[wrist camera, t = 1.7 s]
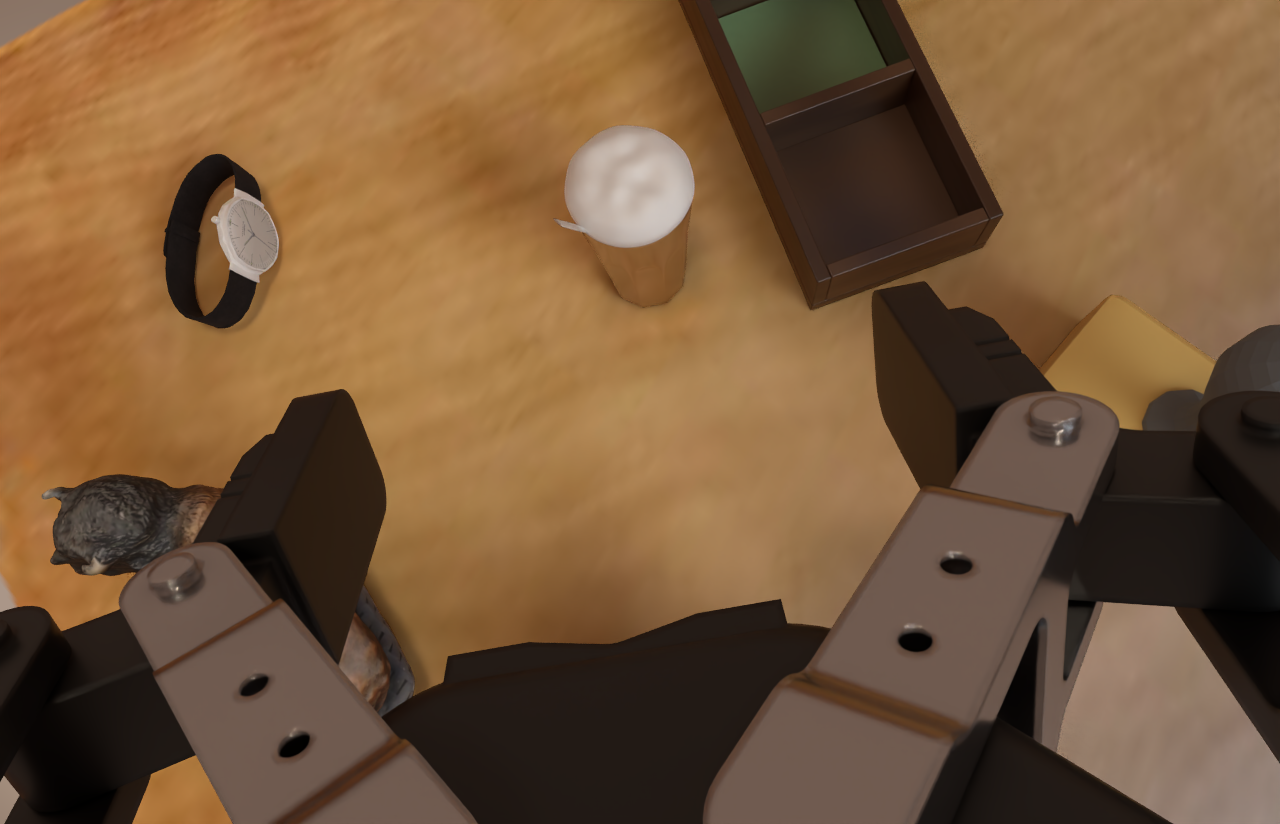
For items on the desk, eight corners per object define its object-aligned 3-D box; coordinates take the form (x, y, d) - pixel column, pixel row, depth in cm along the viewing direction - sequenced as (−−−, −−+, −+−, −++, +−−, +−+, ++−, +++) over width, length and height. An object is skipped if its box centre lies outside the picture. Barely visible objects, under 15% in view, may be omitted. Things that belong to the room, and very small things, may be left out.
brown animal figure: (461, 664, 38) (366, 671, 28) (334, 799, 37) (190, 855, 27) (271, 463, 40) (124, 406, 31) (149, 585, 40) (-41, 566, 30)
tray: (789, -149, 45) (794, -207, 42) (983, 247, 40) (1004, 214, 37) (638, -93, 45) (631, -147, 42) (810, 311, 40) (817, 283, 37)
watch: (278, 331, 42) (236, 303, 38) (176, 339, 42) (126, 311, 39) (286, 173, 44) (246, 132, 40) (188, 181, 44) (141, 142, 41)
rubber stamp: (992, 424, 38) (1107, 329, 26) (1081, 319, 39) (1230, 180, 27) (1210, 591, 36) (1440, 567, 24) (1300, 477, 36) (1567, 400, 25)
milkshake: (561, 289, 41) (509, 180, 31) (647, 204, 42) (621, 71, 32) (636, 357, 40) (606, 265, 30) (723, 268, 41) (720, 151, 31)
